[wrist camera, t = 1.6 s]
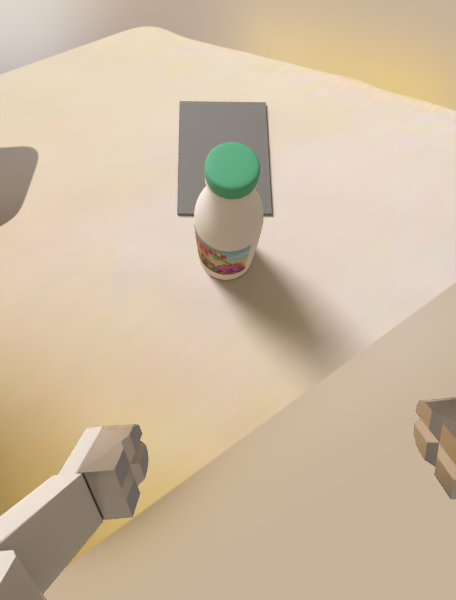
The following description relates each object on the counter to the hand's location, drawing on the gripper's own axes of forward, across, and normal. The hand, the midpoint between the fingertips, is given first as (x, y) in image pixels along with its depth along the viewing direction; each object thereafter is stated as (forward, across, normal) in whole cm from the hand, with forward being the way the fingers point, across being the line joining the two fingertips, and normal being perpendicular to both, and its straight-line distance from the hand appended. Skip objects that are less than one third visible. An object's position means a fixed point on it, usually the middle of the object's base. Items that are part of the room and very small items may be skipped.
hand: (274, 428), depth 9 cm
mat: (+46, +2, -10) cm, 47 cm away
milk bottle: (+36, +3, +4) cm, 37 cm away
